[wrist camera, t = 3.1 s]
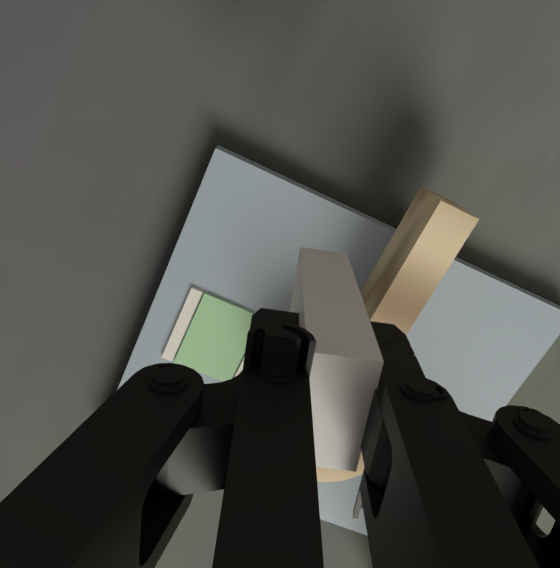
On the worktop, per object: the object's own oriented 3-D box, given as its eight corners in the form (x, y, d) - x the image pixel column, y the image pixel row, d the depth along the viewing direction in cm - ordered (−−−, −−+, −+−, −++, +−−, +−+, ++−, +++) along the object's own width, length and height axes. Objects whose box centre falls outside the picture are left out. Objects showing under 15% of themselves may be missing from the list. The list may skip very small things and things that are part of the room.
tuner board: (103, 426, 30) (95, 442, 29) (218, 144, 24) (215, 148, 23) (394, 531, 33) (399, 549, 32) (561, 306, 27) (575, 317, 26)
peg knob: (313, 495, 30) (319, 567, 26) (220, 461, 29) (210, 529, 25) (489, 218, 24) (537, 250, 19) (378, 164, 23) (402, 184, 18)
